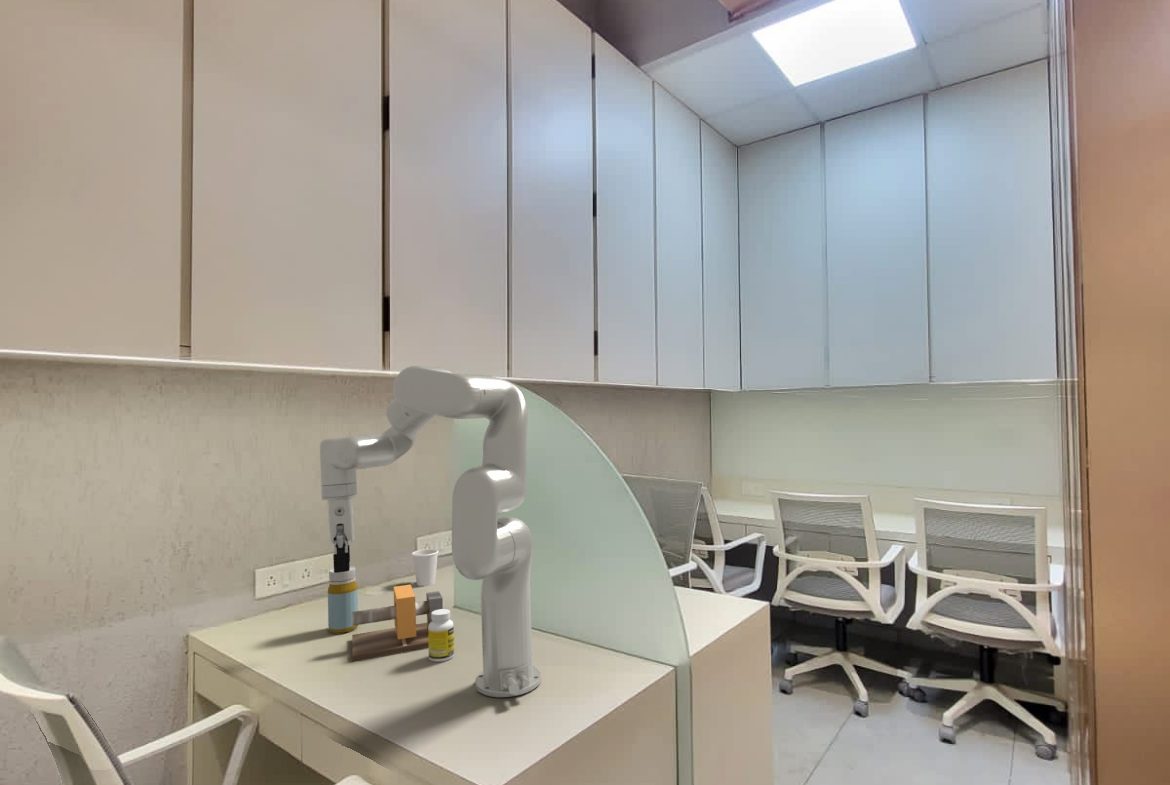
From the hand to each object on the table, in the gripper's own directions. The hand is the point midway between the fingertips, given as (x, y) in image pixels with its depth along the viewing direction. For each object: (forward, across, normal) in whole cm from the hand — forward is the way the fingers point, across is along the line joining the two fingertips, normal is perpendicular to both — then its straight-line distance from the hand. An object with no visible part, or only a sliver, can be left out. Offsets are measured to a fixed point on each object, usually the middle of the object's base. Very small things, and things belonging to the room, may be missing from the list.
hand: (342, 567), depth 133 cm
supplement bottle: (+20, -13, -20) cm, 31 cm away
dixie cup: (+19, +50, -23) cm, 58 cm away
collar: (+17, +1, -13) cm, 21 cm away
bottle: (+19, +17, +1) cm, 25 cm away
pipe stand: (+19, +1, -11) cm, 22 cm away
